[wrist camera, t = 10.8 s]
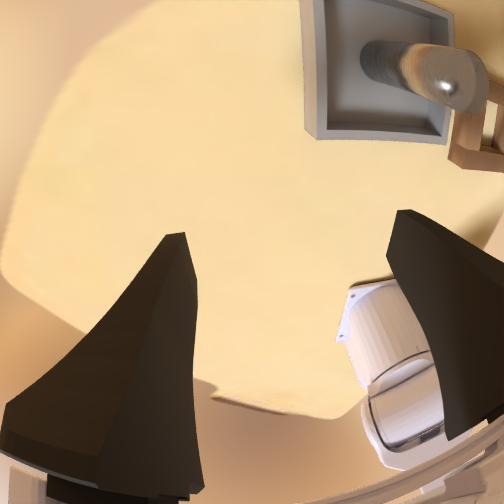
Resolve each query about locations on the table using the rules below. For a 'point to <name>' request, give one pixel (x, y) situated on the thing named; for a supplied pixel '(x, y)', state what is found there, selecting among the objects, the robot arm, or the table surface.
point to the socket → (479, 137)
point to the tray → (355, 80)
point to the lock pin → (429, 72)
